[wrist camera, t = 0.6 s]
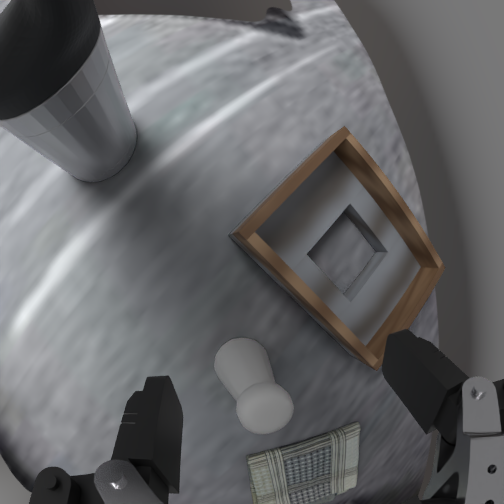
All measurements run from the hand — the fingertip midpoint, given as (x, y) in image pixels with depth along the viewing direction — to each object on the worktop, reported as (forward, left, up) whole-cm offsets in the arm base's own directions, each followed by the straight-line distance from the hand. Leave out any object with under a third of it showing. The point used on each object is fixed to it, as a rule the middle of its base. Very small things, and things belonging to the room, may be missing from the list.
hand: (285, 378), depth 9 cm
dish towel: (+31, -14, -22) cm, 40 cm away
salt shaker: (+7, -4, -21) cm, 23 cm away
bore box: (+8, +13, -21) cm, 26 cm away
